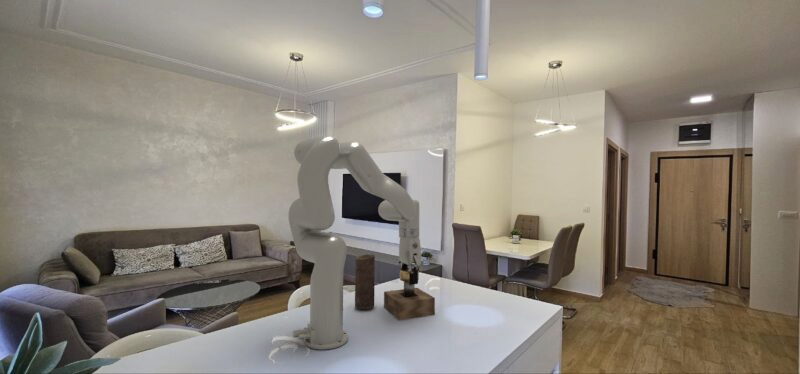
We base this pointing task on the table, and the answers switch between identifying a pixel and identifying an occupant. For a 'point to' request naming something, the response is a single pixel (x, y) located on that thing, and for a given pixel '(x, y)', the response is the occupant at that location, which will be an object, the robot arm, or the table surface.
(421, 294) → the block
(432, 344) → the table surface
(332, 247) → the robot arm
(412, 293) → the pin
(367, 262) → the brown wooden cylinder
